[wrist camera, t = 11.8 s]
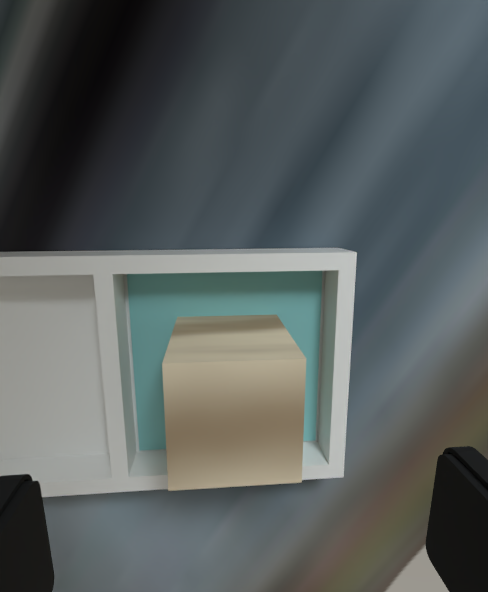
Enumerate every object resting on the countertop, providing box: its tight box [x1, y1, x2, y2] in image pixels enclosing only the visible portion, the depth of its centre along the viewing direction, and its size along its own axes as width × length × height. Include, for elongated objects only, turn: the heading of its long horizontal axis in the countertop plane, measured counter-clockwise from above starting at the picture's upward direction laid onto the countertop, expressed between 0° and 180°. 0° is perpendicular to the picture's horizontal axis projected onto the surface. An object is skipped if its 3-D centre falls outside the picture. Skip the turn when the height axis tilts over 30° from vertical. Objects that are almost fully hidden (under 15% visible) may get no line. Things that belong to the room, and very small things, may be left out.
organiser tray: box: [0, 248, 357, 497], centre depth 18 cm, size 12×22×2 cm, turn 90°
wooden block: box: [162, 315, 306, 491], centre depth 16 cm, size 5×5×6 cm
